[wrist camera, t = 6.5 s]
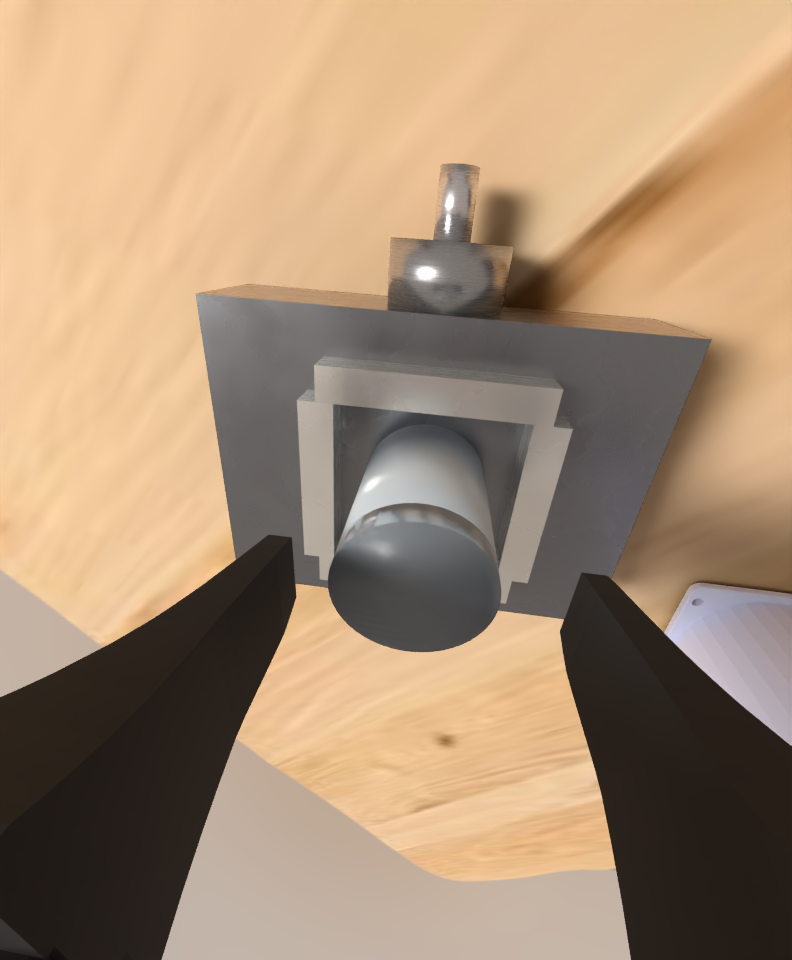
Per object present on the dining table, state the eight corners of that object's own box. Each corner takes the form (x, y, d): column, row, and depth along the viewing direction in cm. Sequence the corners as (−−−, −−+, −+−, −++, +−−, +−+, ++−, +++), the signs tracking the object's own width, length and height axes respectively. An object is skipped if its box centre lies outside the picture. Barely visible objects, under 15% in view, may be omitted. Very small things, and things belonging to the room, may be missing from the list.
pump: (470, 535, 17) (479, 664, 12) (362, 517, 17) (324, 636, 12) (496, 434, 15) (522, 538, 10) (372, 415, 15) (331, 506, 10)
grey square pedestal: (569, 563, 22) (600, 645, 17) (270, 525, 23) (226, 594, 18) (699, 193, 14) (816, 167, 10) (235, 161, 15) (144, 125, 11)
